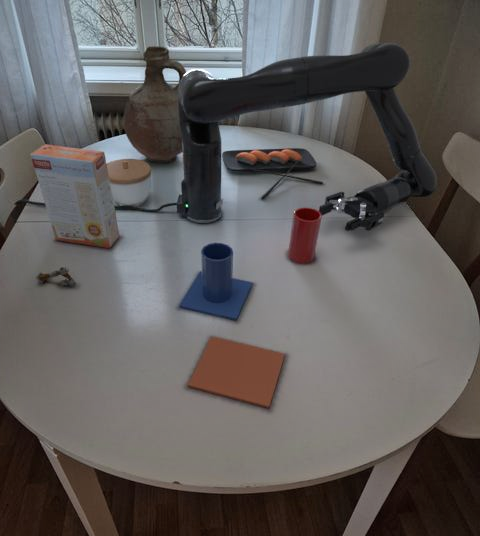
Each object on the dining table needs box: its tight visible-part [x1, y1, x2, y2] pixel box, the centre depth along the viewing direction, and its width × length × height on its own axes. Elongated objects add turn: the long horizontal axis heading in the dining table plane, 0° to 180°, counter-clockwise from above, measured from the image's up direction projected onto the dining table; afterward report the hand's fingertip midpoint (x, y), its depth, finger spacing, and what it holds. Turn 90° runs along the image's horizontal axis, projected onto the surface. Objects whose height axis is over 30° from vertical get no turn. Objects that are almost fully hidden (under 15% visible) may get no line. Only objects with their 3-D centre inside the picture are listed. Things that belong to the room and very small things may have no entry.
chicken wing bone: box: [35, 266, 77, 287], centre depth 89 cm, size 2×8×4 cm, turn 78°
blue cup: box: [200, 242, 234, 303], centre depth 86 cm, size 6×6×11 cm
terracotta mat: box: [187, 335, 286, 409], centre depth 75 cm, size 14×12×1 cm
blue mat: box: [178, 270, 254, 321], centre depth 89 cm, size 12×12×1 cm
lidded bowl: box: [106, 158, 152, 207], centre depth 113 cm, size 13×13×11 cm
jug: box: [122, 45, 187, 163], centre depth 128 cm, size 22×22×30 cm
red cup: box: [287, 206, 323, 265], centre depth 97 cm, size 6×6×11 cm
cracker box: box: [29, 143, 120, 249], centre depth 96 cm, size 14×6×21 cm, turn 77°
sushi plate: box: [221, 147, 324, 200], centre depth 131 cm, size 29×30×4 cm
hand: (333, 219), depth 100 cm, fingers open, 8 cm apart
